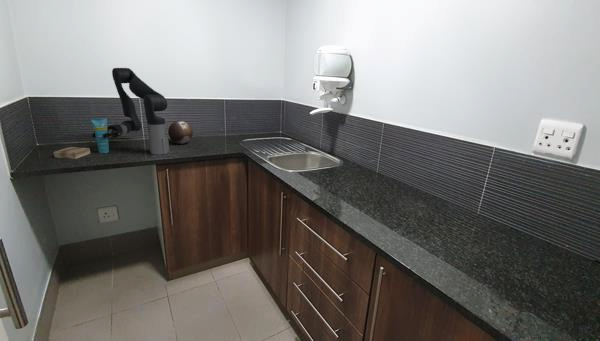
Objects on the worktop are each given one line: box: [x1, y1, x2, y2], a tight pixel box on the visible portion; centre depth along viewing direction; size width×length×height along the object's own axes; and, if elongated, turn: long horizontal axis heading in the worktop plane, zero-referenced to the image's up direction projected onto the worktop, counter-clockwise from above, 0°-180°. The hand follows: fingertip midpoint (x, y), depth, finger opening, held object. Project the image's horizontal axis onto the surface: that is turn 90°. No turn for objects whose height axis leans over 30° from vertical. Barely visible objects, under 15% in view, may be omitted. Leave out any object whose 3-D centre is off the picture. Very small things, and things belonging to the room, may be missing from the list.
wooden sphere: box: [167, 120, 194, 145], centre depth 191 cm, size 15×15×15 cm
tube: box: [90, 117, 110, 154], centre depth 161 cm, size 7×5×19 cm, turn 134°
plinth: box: [53, 146, 91, 160], centre depth 155 cm, size 11×11×3 cm
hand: (98, 135), depth 159 cm, fingers closed on tube, 5 cm apart
